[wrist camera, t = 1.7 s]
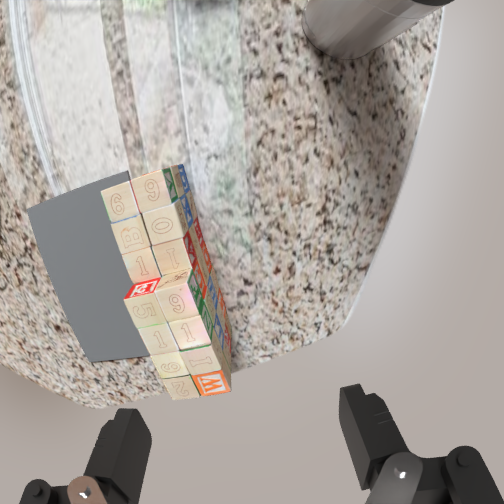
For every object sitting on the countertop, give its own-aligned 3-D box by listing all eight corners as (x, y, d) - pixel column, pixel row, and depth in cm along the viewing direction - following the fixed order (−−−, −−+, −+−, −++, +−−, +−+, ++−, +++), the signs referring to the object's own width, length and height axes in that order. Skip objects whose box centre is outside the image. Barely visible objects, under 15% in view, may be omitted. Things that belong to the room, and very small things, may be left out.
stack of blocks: (132, 178, 33) (83, 194, 22) (183, 162, 33) (154, 169, 21) (187, 337, 40) (172, 402, 28) (233, 328, 40) (231, 394, 28)
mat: (128, 170, 33) (126, 170, 32) (186, 348, 40) (185, 350, 40) (28, 208, 33) (26, 209, 33) (90, 360, 41) (89, 362, 40)
